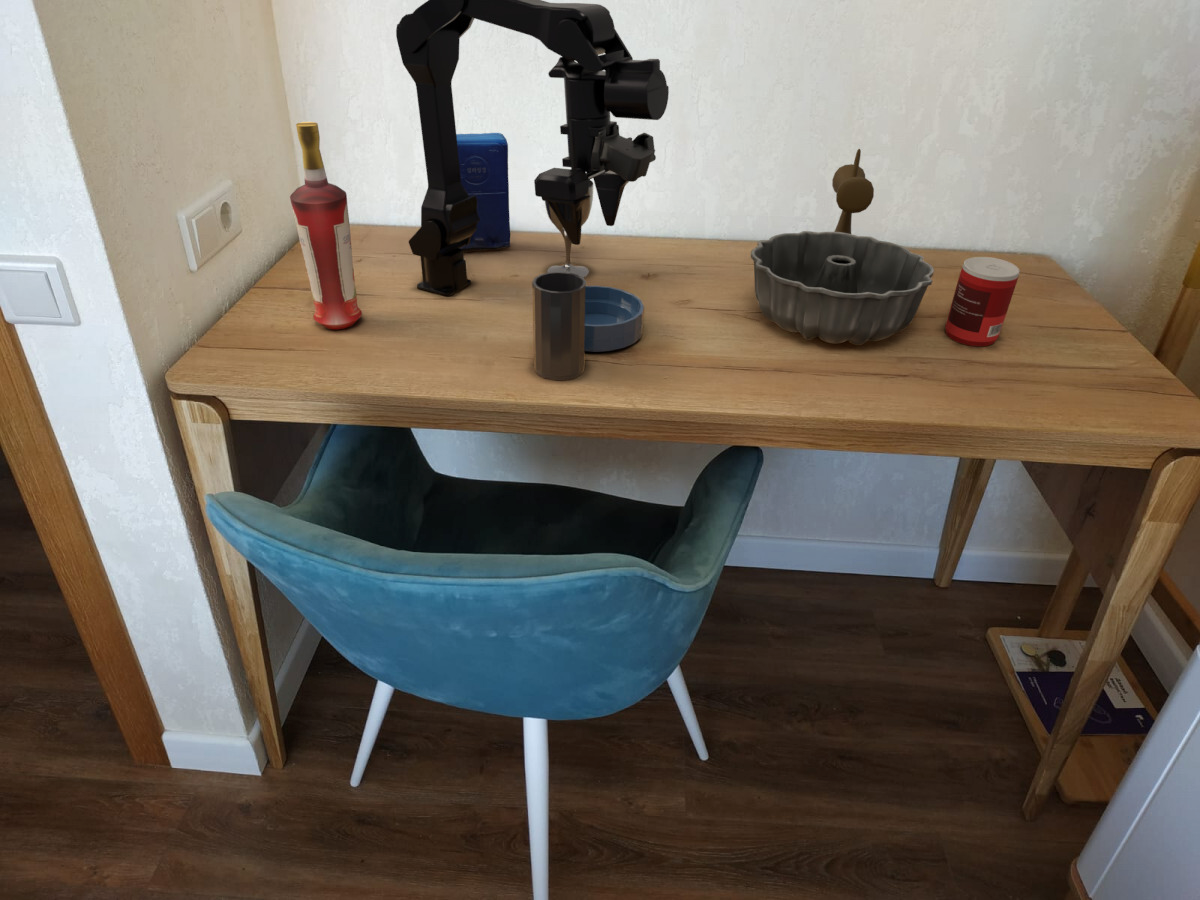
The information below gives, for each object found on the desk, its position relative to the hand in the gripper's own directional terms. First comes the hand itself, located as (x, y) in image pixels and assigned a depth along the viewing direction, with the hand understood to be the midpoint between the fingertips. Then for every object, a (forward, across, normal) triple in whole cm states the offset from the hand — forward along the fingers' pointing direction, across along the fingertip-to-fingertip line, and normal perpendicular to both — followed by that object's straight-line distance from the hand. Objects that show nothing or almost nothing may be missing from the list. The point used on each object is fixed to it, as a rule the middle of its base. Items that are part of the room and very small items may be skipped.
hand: (593, 234), depth 115 cm
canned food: (+18, +30, -47) cm, 59 cm away
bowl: (+14, -1, 0) cm, 14 cm away
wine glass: (+13, +17, +16) cm, 27 cm away
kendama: (+16, +47, -22) cm, 54 cm away
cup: (+14, -13, -2) cm, 20 cm away
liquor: (+12, -19, +33) cm, 40 cm away
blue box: (+12, +16, +36) cm, 41 cm away
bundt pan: (+17, +23, -28) cm, 40 cm away
